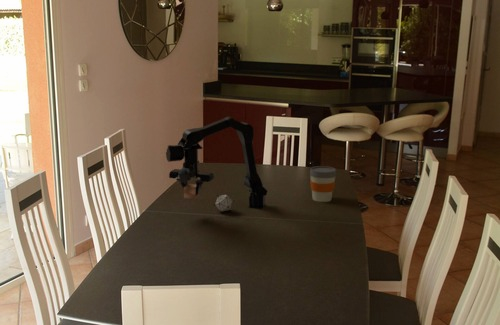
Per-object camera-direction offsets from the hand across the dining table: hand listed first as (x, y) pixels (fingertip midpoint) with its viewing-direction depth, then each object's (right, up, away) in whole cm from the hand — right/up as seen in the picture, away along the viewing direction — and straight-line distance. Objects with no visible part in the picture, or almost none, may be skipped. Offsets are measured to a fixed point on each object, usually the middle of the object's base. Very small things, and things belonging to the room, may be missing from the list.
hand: (191, 194), depth 240 cm
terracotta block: (0, -1, 0) cm, 1 cm away
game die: (+14, -8, +8) cm, 18 cm away
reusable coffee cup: (+60, -4, +27) cm, 66 cm away
